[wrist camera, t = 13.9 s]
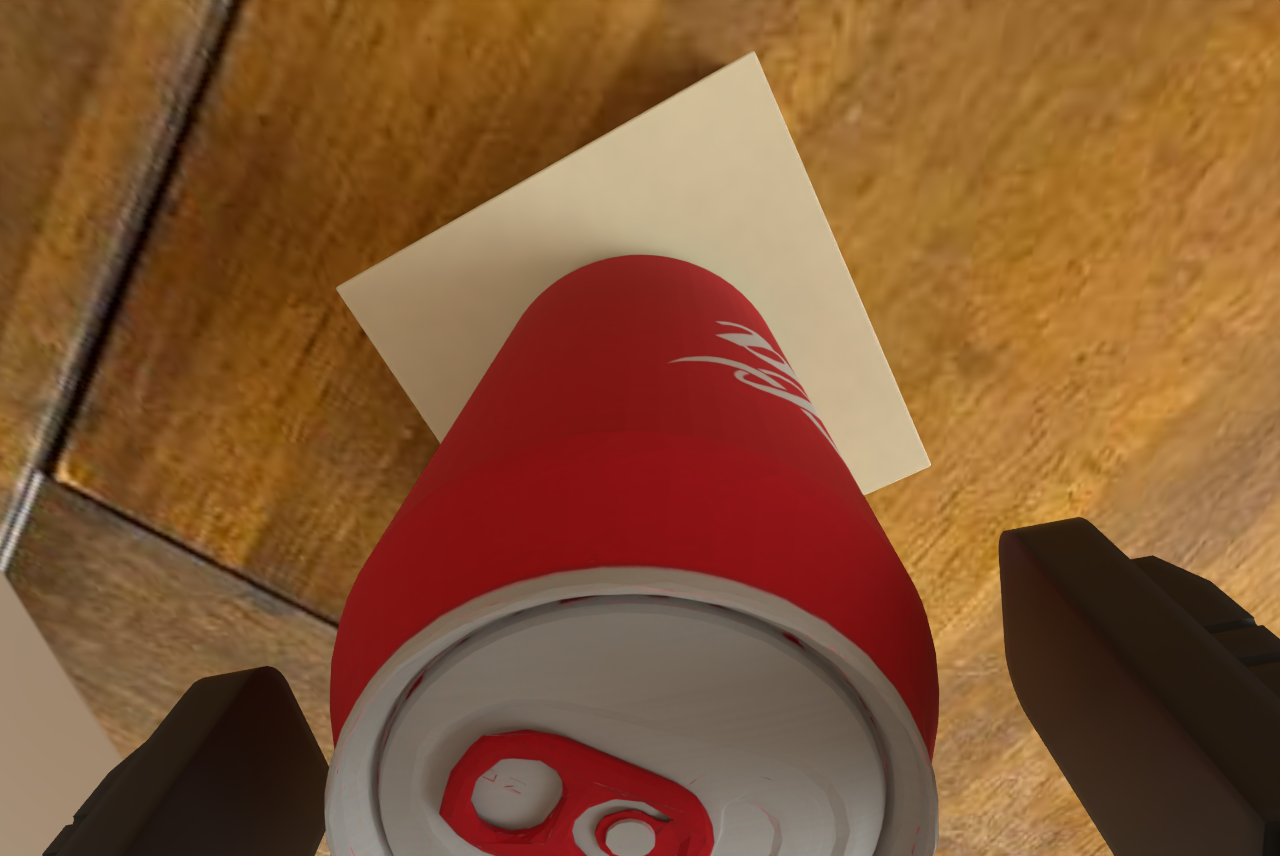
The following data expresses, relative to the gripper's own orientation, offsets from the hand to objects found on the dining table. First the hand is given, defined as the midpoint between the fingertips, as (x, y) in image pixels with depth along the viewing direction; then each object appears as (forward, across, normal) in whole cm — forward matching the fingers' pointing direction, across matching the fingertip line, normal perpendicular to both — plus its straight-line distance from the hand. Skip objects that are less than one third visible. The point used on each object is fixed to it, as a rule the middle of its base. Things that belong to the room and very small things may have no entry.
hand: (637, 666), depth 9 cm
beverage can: (+10, 0, 0) cm, 10 cm away
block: (+15, 0, 0) cm, 15 cm away
